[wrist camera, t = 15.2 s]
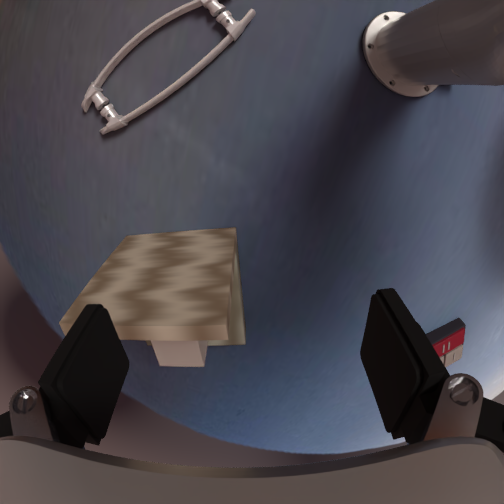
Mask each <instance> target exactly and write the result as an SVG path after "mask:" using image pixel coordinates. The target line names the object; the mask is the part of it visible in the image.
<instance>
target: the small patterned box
mask: <svg viewBox="0 0 504 504" xmlns="http://www.w3.org/2000/svg"><path fill="white" fill-rule="evenodd" d="M465 326H466V325H465V324H464V322H463V321H462V320H461V319H460V318H457V319H455V320H453V321H451V322H449V323H447V324H445V325H443V326H441V327H439V328H437V329H435V330H433V331H431V332H430V333H428V334H426V336H427V338H428V339H429V341H430V342H431V344H432V346H433V347H434V349H435V351H436V352H437V354H438V356H439V357H440V359H441V361H442V363H443V364H444V366H445V367H447V366H449V365H450V364H452V363H454V362H455V361H457V360H459V359H460V358H461V356H462V350H463V342H464V335H465Z"/></svg>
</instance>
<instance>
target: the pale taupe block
mask: <svg viewBox="0 0 504 504" xmlns="http://www.w3.org/2000/svg"><path fill="white" fill-rule="evenodd" d="M151 343H152V346H153V349H154V351H155V354H156V357H157V359H158V362H159V364H160V366H180V367H204V365H205V358H206V351H207V345H208V340H203V341H154V340H151Z"/></svg>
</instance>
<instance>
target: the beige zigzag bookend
mask: <svg viewBox="0 0 504 504" xmlns="http://www.w3.org/2000/svg"><path fill="white" fill-rule="evenodd" d="M87 304H102V305H103V306H104V308H106V309H107V310H108V312H109V314H110V317H111V319H112V322H113V324H114V327H115V329H116V332H117V334H118V337H119V339H121V340H146V343H147V345H152V343H151V340H154V341H203V340H208V345H207V346H215V345H244V344H245V343H246V326H245V316H244V306H243V296H242V286H241V276H240V266H239V255H238V245H237V234H236V227H234V228H219V229H205V230H192V231H179V232H166V233H154V234H143V235H131V236H126V237H125V238H124V240H123V241H122V242H121V243H120V244H119V246H118V247H117V248H116V249H115V250H114V251H113V253H112V254H111V255H110V256H109V258H108V259H107V260H106V261H105V262H104V264H103V265H102V266H101V267H100V269H99V270H98V271H97V272H96V274H95V275H94V276H93V278H92V279H91V280H90V281H89V283H88V284H87V285H86V287H85V288H84V289H83V291H82V292H81V293H80V295H79V296H78V297H77V299H76V300H75V301H74V303H73V304H72V305H71V307H70V308H69V310H68V311H67V312H66V314H65V315H64V317H63V318H62V319H61V321H60V322H59V324H60V326H61V328H62V330H63V332H64V334H65V336H66V335H67V333H68V331H69V330H70V328H71V327H72V325H73V324H74V322H75V321H76V319H77V318H78V316H79V315H80V313H81V312H82V310H83V309H84V307H85V306H86V305H87Z"/></svg>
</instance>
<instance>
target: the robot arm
mask: <svg viewBox="0 0 504 504" xmlns="http://www.w3.org/2000/svg"><path fill="white" fill-rule="evenodd" d="M362 42H363V52H364V56H365V59H366V62H367V64H368V66H369V68H370V69H371V71H372V73H373V74H374V75H375V77H376V78H377V79H378V80H379V81H380V82H381V83H382V84H383V85H384V86H385V87H387V88H388V89H390V90H391V91H393V92H395V93H397V94H400V95H403V96H407V97H420V96H424V95H427V94H429V93H431V92H432V91H434V90H435V89H436V88H437V87H438V85H491V86H500V85H504V0H435V1H433V2H431V3H429V4H426V5H424V6H422V7H420V8H418V9H415V10H413V11H411V12H409V13H407V14H406V13H403V12H396V11H392V12H385V13H382V14H380V15H378V16H376V17H375V18H374V19H372V20H371V21H370V22H369V24H368V25H367V26H366V29H365V31H364V34H363V40H362ZM368 46H369V47H370V49H369V48H368ZM389 82H391V85H390V83H389ZM424 88H425V89H424ZM360 355H361V360H362V363H363V365H364V368H365V371H366V374H367V376H368V379H369V382H370V385H371V388H372V391H373V393H374V396H375V399H376V402H377V405H378V408H379V411H380V414H381V417H382V420H383V423H384V426H385V429H386V431H387V432H388V433H390V432H391V434H392V437H393V440H394V439H397V438H401V437H405V440H406V442H407V443H408V444H407V445H405V446H401V447H397V448H393V449H389V450H384V451H380V452H376V453H370V454H366V455H361V456H355V457H350V458H344V459H338V460H331V461H325V462H317V463H309V464H300V465H289V466H275V467H252V468H219V467H196V466H183V465H172V464H163V463H155V462H147V461H140V460H134V459H128V458H122V457H117V456H112V455H107V454H102V453H98V452H94V451H89V450H85V447H84V445H85V442H87V443H91V444H95V445H99V444H100V441H101V439H103V438H104V437H105V435H106V432H107V429H108V426H109V423H110V420H111V417H112V414H113V411H114V408H115V405H116V402H117V399H118V397H119V394H120V391H121V388H122V386H123V383H124V380H125V377H126V375H127V372H128V369H129V360H128V357H127V355H126V353H125V350H124V348H123V346H122V344H121V341H120V339H119V337H118V334H117V332H116V329H115V327H114V324H113V322H112V319H111V317H110V314H109V312H108V310H107V309H106V308H104V306H103V305H102V304H87V305H86V306H85V307H84V309H83V310H82V312H81V313H80V315H79V316H78V318H77V319H76V321H75V322H74V324H73V325H72V327H71V328H70V330H69V331H68V333H67V335H66V336H65V338H64V339H63V341H62V343H61V344H60V346H59V347H58V349H57V351H56V352H55V354H54V356H53V357H52V359H51V361H50V362H49V364H48V366H47V368H46V369H45V371H44V373H43V374H42V376H41V378H40V380H39V381H38V383H39V385H40V386H41V387H40V389H39V390H38V389H37V388H36V387H33V386H25V387H22V388H20V389H18V390H17V391H16V392H15V393H14V394H13V396H12V397H11V399H10V402H9V411H8V412H6V413H4V414H2V415H0V504H504V405H502V404H500V403H497V402H494V401H492V400H489V399H487V398H484V397H483V389H482V386H481V385H480V383H479V382H478V381H477V380H476V379H475V378H474V377H472V376H470V375H468V374H463V373H459V374H454V375H451V376H450V375H449V373H448V371H447V369H446V368H445V366H444V364H443V363H442V361H441V359H440V357H439V356H438V354H437V352H436V351H435V349H434V347H433V346H432V344H431V342H430V341H429V339H428V338H427V336H426V334H425V333H424V331H423V330H422V328H421V326H420V325H419V324H418V323H417V322H416V321H415V319H414V318H413V316H412V315H411V313H410V312H409V310H408V309H407V307H406V306H405V304H404V303H403V301H402V300H401V298H400V297H399V295H398V294H397V292H396V291H395V289H394V288H389V289H380V290H377V292H376V294H373V295H372V297H371V302H370V307H369V312H368V318H367V323H366V327H365V332H364V337H363V341H362V346H361V351H360Z"/></svg>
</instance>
